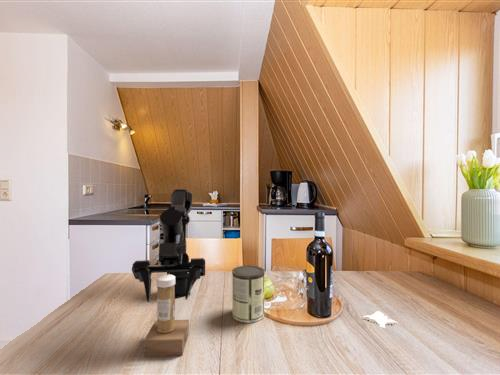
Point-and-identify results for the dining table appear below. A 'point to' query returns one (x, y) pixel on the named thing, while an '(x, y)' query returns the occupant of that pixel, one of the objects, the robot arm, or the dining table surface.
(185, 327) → the walnut box
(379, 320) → the acanthus leaf ornament
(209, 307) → the dining table surface
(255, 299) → the coffee can
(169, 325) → the sprinkles bottle
